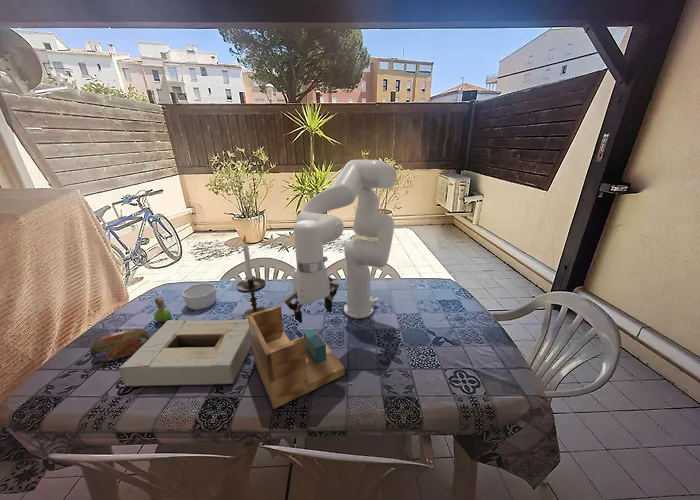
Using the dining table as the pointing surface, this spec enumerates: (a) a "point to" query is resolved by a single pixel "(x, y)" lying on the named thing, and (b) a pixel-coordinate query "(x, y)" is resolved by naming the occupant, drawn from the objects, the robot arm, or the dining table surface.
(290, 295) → the robot arm
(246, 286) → the candlestick
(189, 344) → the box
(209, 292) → the ramekin
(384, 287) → the dining table surface
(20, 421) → the dining table surface
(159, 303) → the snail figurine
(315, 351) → the teal rectangular block
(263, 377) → the shelf
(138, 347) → the tin
